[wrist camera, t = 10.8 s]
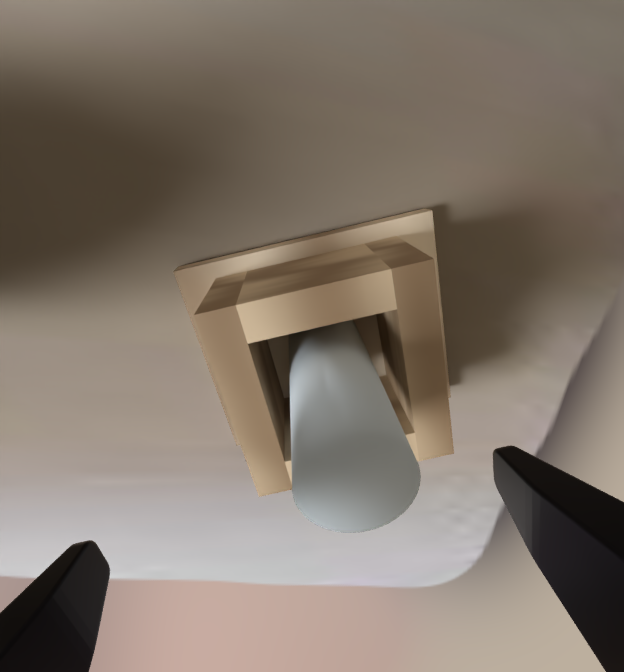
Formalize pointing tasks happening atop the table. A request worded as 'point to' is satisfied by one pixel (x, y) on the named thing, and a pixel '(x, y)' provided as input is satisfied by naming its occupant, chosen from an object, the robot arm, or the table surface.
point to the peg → (345, 434)
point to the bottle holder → (316, 311)
